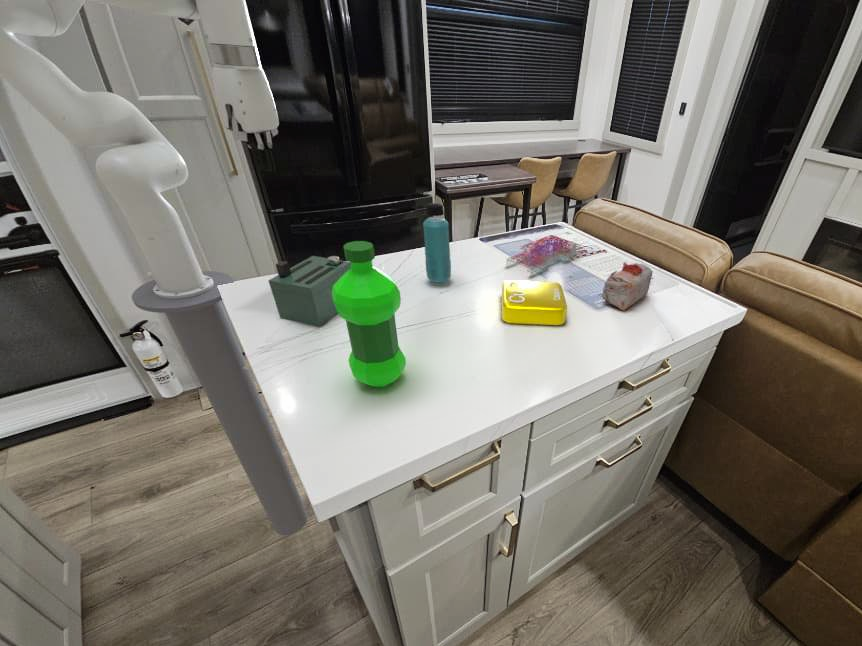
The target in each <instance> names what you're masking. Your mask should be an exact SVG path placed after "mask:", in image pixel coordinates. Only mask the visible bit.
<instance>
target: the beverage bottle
mask: <svg viewBox="0 0 862 646" xmlns="http://www.w3.org/2000/svg"><path fill="white" fill-rule="evenodd" d="M425 211H426V215H427V216H430V217H426V219H425V220H424V221H423V223H422V226H423V238H424V239H423V240H424V257H425V272H426V277H427V280H429V281H431V282H434V283H443V282H447V281H449V280H450V279H451V276H452V265H451V262H452V261H451V249H450V248H451V246H450V232H449V230H450V229H449V225H450V224H449V222H448V221H447V220H446V219H445V218H444V217H441V216H443V215H444V214H445V213H444V212H445V211H444V206H443V204H441V203H437V202H430V203H427V204H426V209H425Z"/></svg>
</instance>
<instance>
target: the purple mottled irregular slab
mask: <svg viewBox="0 0 862 646" xmlns="http://www.w3.org/2000/svg"><path fill="white" fill-rule="evenodd" d="M582 246H583V245H582V244H580V243H576V242H574V241H570V240H569V239H568V240H567V239H564V238H561V237H559V236H557V235H552V234H549V235H547V236H544V237H542V238H539V239H536V240H534V241H531V242H528V243H526V244H523V245H520V246H519V249H520V250H522V251H523V252H520V253H518V254H515V255H513V256H511V257H507V258H506V266H505V268H506V269H508V268H510V267H512V266H515V265H519V266H521V267H525V268H526V269H527V270H526V271H527V272H528V273H530V278H533V277H535V276H537V275H538V272H539V273H540V274H542V273H544V272H545V271H547V270H548V267H549V266H551V265H553V264H556V263H558V262H563V263H567V262H569V261H572V260H574V257H575V256H576V255H579V254H581V252H580V251H578V250H581V249H582ZM562 259H563V260H562Z"/></svg>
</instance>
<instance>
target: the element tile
mask: <svg viewBox="0 0 862 646" xmlns="http://www.w3.org/2000/svg"><path fill="white" fill-rule="evenodd" d="M565 297H566V296H565V295H564V289H563V286H562V285H561V284H560V283H558V282H552V281H531V280H512V279H505V280H504V281H503V282H502V286H501V319H502V321H503V322H505V323H506V324H507V323H508V324H515V325H516V324H517V325H518V324H520V325H536V326H537V325H538V326H539V325H540V326H561V325H563V324H565V322H566V317H567V311H568V306H567V301H566V298H565Z"/></svg>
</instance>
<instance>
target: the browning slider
mask: <svg viewBox="0 0 862 646" xmlns="http://www.w3.org/2000/svg"><path fill="white" fill-rule="evenodd" d="M275 268H276V271H277V275H279V276H284V277H286V276H287V275H289V274H291V270H290V268H291V266H290V263H289V261H284V260H281V261H279V262H277V263H275Z"/></svg>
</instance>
